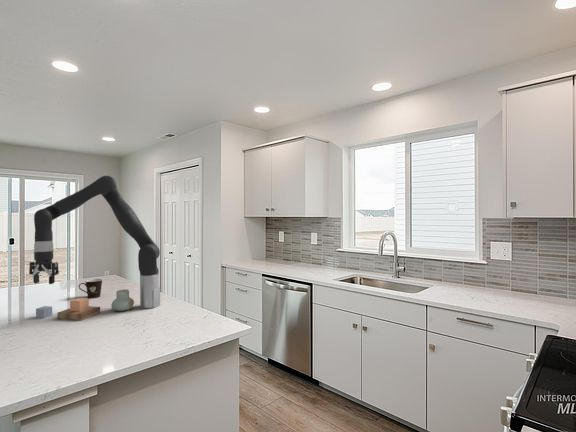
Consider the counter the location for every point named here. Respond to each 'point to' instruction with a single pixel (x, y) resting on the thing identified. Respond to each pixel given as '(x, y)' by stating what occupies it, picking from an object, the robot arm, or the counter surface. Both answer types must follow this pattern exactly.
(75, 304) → the terracotta block
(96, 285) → the coffee mug
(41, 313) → the slate block
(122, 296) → the air freshener
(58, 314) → the walnut plinth
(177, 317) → the counter surface
